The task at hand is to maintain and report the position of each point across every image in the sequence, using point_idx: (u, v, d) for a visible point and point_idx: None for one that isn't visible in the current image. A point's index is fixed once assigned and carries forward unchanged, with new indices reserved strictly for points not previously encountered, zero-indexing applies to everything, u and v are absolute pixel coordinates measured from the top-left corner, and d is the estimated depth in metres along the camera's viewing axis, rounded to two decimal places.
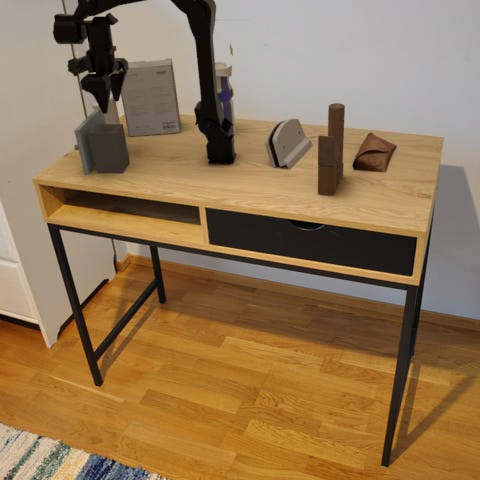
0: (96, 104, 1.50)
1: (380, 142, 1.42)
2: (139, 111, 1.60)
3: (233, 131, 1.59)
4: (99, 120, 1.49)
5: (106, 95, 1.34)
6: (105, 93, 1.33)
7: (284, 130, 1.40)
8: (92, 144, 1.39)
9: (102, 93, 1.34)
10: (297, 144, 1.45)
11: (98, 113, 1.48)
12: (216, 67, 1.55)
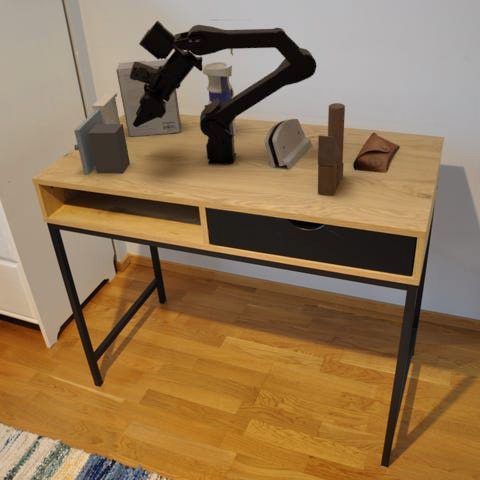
0: (96, 104, 1.50)
1: (382, 142, 1.41)
2: None
3: (233, 131, 1.59)
4: (99, 120, 1.49)
5: (152, 117, 1.33)
6: (153, 115, 1.33)
7: (283, 130, 1.40)
8: (92, 144, 1.39)
9: (149, 112, 1.33)
10: (296, 144, 1.45)
11: (98, 113, 1.48)
12: (216, 67, 1.55)
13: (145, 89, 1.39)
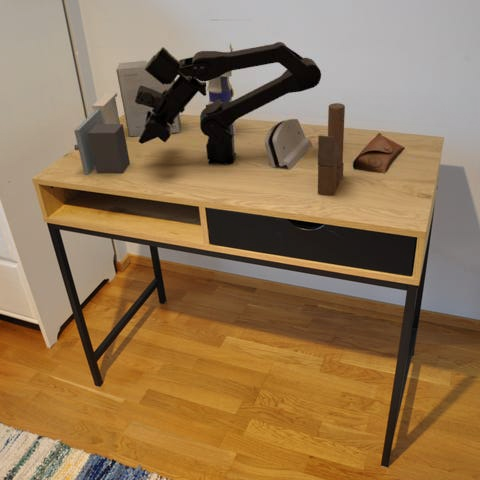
0: (96, 104, 1.50)
1: (386, 143, 1.41)
2: (139, 111, 1.60)
3: (233, 131, 1.59)
4: (99, 120, 1.49)
5: None
6: None
7: (284, 130, 1.40)
8: (92, 144, 1.39)
9: None
10: (296, 144, 1.45)
11: (98, 113, 1.48)
12: None
13: (148, 117, 1.39)
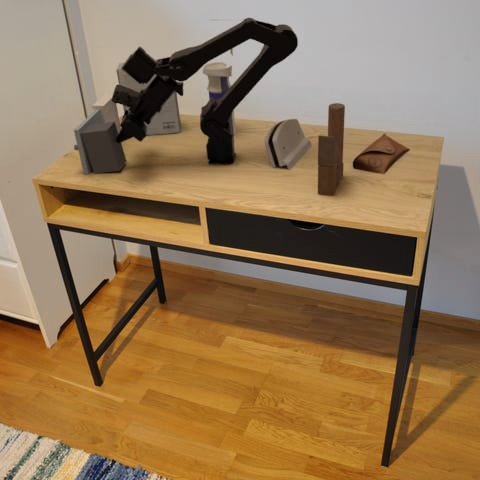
0: (96, 104, 1.50)
1: (389, 144, 1.40)
2: None
3: (233, 131, 1.59)
4: (99, 120, 1.49)
5: None
6: None
7: (283, 130, 1.40)
8: (86, 144, 1.39)
9: None
10: (296, 144, 1.45)
11: (98, 113, 1.48)
12: (216, 67, 1.55)
13: (125, 116, 1.39)
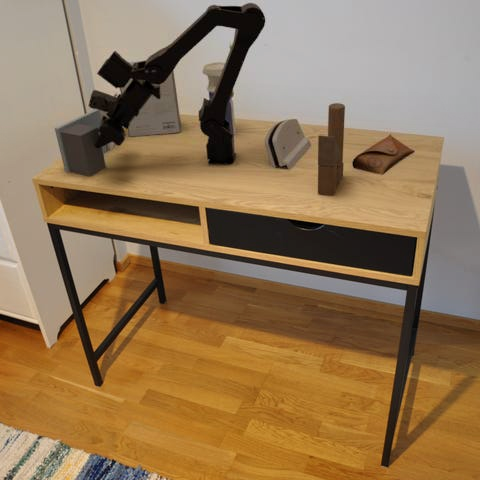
0: None
1: (392, 145, 1.40)
2: None
3: (233, 131, 1.59)
4: (96, 120, 1.49)
5: None
6: None
7: (283, 130, 1.40)
8: (64, 143, 1.41)
9: None
10: (296, 144, 1.45)
11: (95, 113, 1.48)
12: (216, 67, 1.55)
13: None
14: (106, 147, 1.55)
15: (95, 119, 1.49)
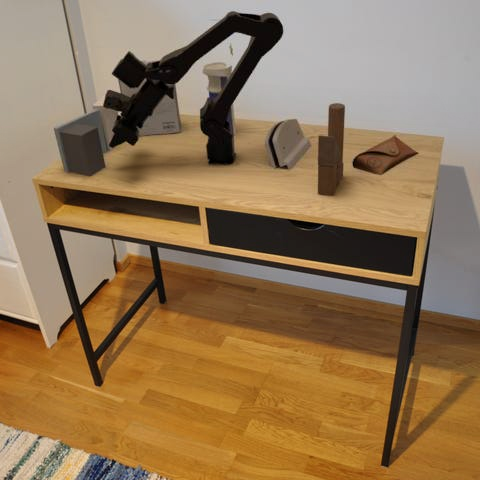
0: (96, 104, 1.50)
1: (394, 145, 1.39)
2: None
3: (233, 131, 1.59)
4: (96, 120, 1.49)
5: None
6: None
7: (283, 130, 1.40)
8: (64, 143, 1.41)
9: None
10: (296, 144, 1.45)
11: (95, 113, 1.48)
12: (216, 67, 1.55)
13: (118, 121, 1.39)
14: (106, 147, 1.55)
15: (95, 119, 1.49)
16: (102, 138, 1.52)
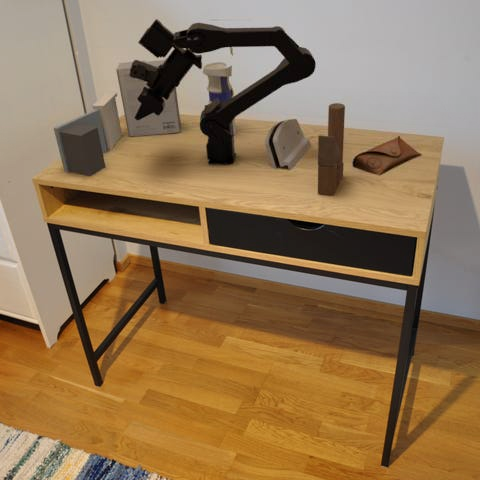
0: (96, 104, 1.50)
1: (396, 146, 1.39)
2: None
3: (233, 131, 1.59)
4: (96, 120, 1.49)
5: None
6: None
7: (283, 130, 1.40)
8: (64, 143, 1.41)
9: None
10: (296, 144, 1.45)
11: (95, 113, 1.48)
12: (216, 67, 1.55)
13: None
14: (106, 147, 1.55)
15: (95, 119, 1.49)
16: (102, 138, 1.52)
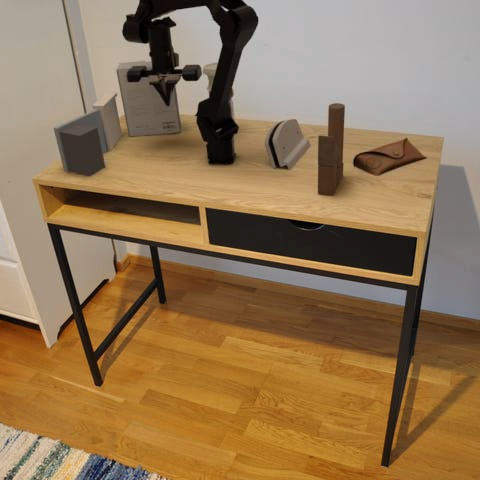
0: (96, 104, 1.50)
1: (400, 148, 1.38)
2: (139, 111, 1.60)
3: None
4: (96, 120, 1.49)
5: None
6: None
7: (283, 131, 1.40)
8: (64, 143, 1.41)
9: None
10: (296, 144, 1.45)
11: (95, 113, 1.48)
12: (216, 67, 1.55)
13: None
14: (106, 147, 1.55)
15: (95, 119, 1.49)
16: (102, 138, 1.52)
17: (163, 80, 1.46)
